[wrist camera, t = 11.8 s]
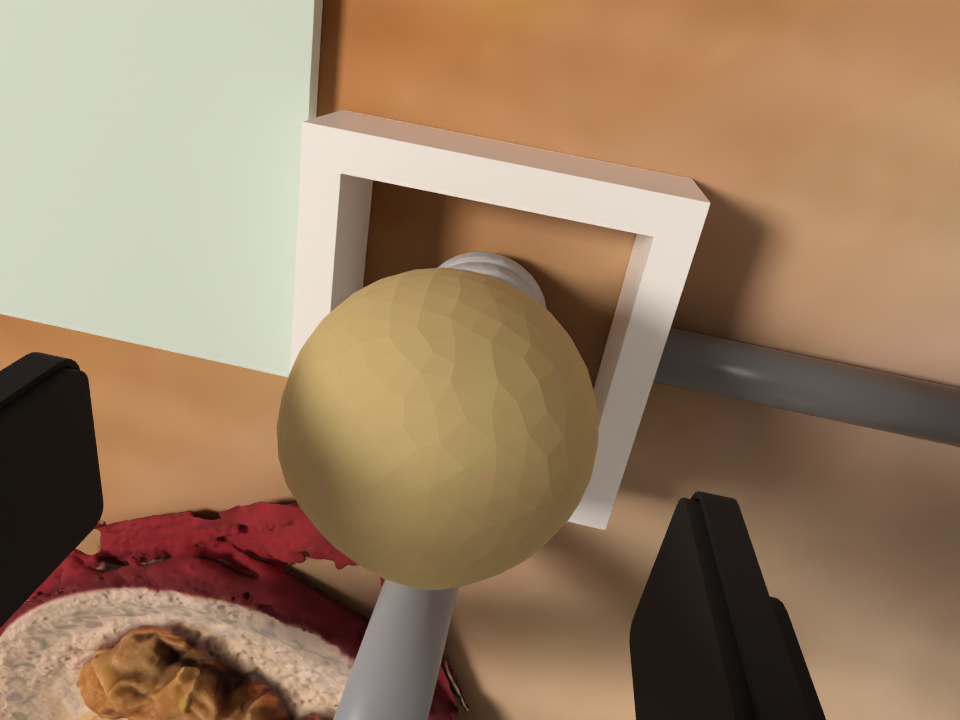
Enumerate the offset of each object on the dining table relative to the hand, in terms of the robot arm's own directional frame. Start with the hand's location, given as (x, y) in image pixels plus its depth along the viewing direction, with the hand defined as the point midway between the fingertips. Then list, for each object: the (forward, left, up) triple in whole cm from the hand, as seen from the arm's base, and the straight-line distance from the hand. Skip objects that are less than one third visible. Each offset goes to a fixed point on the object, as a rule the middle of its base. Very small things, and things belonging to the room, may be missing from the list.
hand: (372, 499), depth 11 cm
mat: (+11, -2, -10) cm, 16 cm away
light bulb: (-1, +1, -11) cm, 11 cm away
